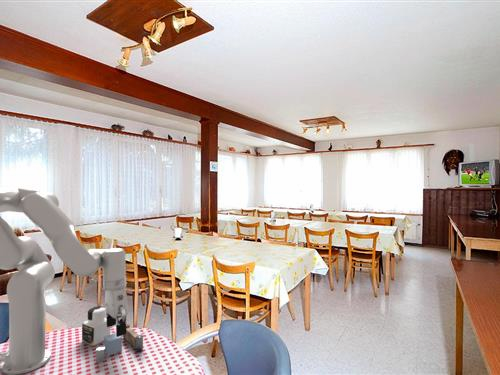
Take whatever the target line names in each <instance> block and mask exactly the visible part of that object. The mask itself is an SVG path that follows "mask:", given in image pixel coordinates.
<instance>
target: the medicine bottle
mask: <svg viewBox="0 0 500 375" xmlns="http://www.w3.org/2000/svg"><path fill="white" fill-rule="evenodd" d="M81 325H82V326H81V342H84V343H85V344H88V345H90V346H96V345H98V344H100V343H102V342H104V337H105V336H108V335H111V327H107V319H106V308H105V306H101V305H99V306H94V307H91V308H90V309H88V310H87V320H85V321H83V322H82V323H81Z"/></svg>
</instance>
